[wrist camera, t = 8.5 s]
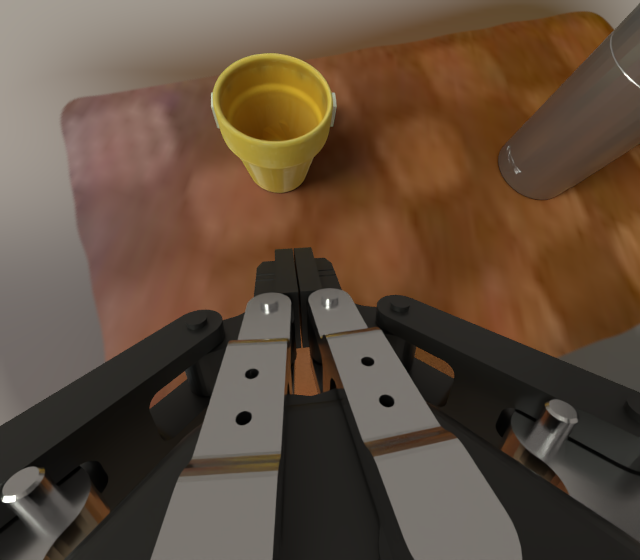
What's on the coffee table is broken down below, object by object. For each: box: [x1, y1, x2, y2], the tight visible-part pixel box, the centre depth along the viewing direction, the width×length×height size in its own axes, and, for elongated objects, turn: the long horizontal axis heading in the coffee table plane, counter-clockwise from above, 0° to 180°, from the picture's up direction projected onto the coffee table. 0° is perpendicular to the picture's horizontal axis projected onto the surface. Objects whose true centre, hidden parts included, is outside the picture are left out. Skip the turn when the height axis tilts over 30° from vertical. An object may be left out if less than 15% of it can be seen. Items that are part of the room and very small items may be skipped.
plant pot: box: [213, 53, 333, 193], centre depth 31 cm, size 10×10×10 cm
